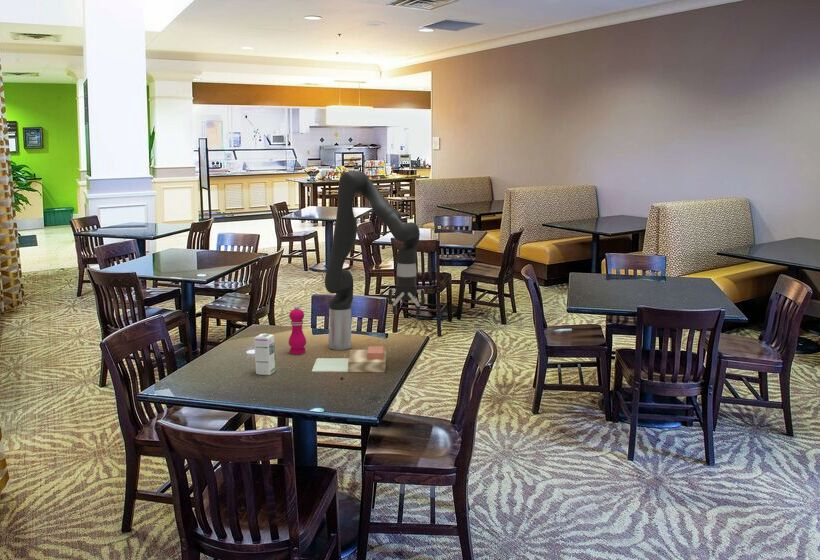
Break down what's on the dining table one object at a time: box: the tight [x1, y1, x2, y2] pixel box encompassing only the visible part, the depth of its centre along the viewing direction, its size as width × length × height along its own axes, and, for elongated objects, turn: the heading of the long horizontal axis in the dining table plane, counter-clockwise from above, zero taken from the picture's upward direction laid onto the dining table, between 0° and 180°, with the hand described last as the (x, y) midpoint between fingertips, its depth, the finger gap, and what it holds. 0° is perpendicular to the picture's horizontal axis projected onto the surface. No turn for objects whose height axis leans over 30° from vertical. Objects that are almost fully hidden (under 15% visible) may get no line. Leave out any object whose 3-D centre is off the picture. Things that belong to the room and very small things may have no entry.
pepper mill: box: [288, 305, 307, 355], centre depth 284 cm, size 7×7×20 cm
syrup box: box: [253, 333, 277, 376], centre depth 259 cm, size 6×6×14 cm
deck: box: [347, 349, 387, 373], centre depth 269 cm, size 14×16×4 cm
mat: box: [311, 357, 349, 373], centre depth 269 cm, size 14×16×1 cm
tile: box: [367, 345, 385, 359], centre depth 268 cm, size 6×9×2 cm, turn 0°
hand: (406, 315), depth 269 cm, fingers open, 8 cm apart
